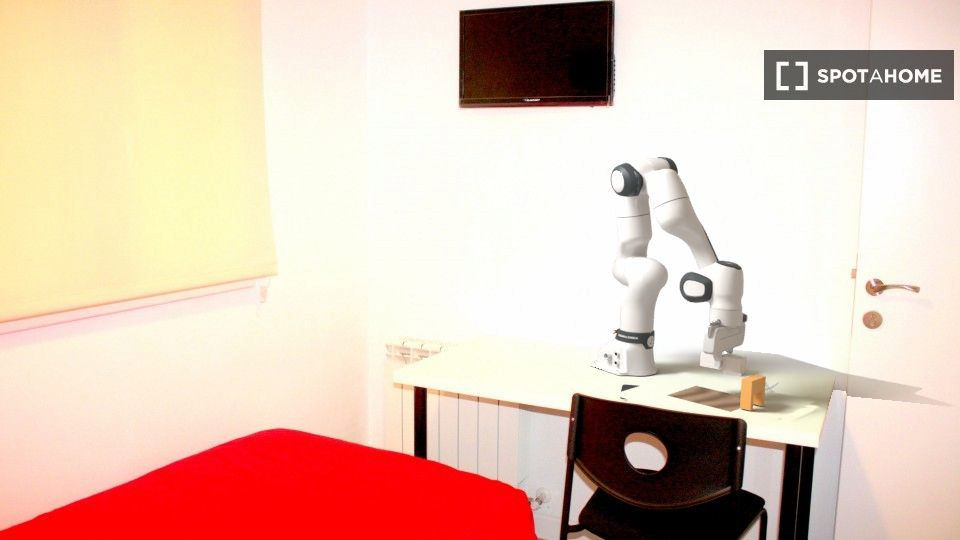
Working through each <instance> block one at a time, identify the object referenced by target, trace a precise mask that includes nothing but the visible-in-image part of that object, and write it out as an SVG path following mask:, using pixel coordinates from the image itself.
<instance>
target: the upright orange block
mask: <svg viewBox="0 0 960 540" xmlns="http://www.w3.org/2000/svg"><path fill="white" fill-rule="evenodd" d="M766 379H767V376H766V375H761V374H757V373H756V374H753V375H749V376H747V377H744V378H741V385H740V396H741V398H740V408H739V409H742V410H747V411H753V410H754V405H755V406H760V407H763V406H765V399H766V398H765V395H766V390H765V388H766V386H765V382H766V383H767V381H766Z"/></svg>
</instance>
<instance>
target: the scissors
mask: <svg viewBox="0 0 960 540" xmlns="http://www.w3.org/2000/svg"><path fill="white" fill-rule="evenodd" d="M778 384H779V382H776V383H775V384H772V385H770V386H769V384H768V383H767V381H766V382H765V391H769V392H771V393H775V391H774V390H773V388H774V387H776V386H777V385H778Z"/></svg>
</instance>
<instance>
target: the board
mask: <svg viewBox="0 0 960 540" xmlns="http://www.w3.org/2000/svg"><path fill="white" fill-rule="evenodd" d="M667 396H668V397H671V398H675V399H676V398H677V399H679V400H683V401H687V402H691V403H695V404H698V405H699V404H700V405H703V406H706V407H710V408H714V409H719V410H723V411H726V412H729V413H731V412H734V411H736V410H739V409H741V408H740V398H741V395H738V394H733V393H728V392H724V391H720V390H716V389H711V388H707V387H704V386H700V385H694V386H692V387H688V388H685V389H682V390H679V391H676V392H673V393H670V394H669V393H668V394H667Z"/></svg>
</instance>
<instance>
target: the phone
mask: <svg viewBox="0 0 960 540" xmlns="http://www.w3.org/2000/svg"><path fill="white" fill-rule="evenodd" d="M638 387H639V385H636V384H627V383H626V384H622V385H621V389H620V391H621V393H622V392H624V391H628V390H632V389H634V388H638ZM619 398H620V399H621V400H626V398H624V397H622V396H620V397H619Z"/></svg>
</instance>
